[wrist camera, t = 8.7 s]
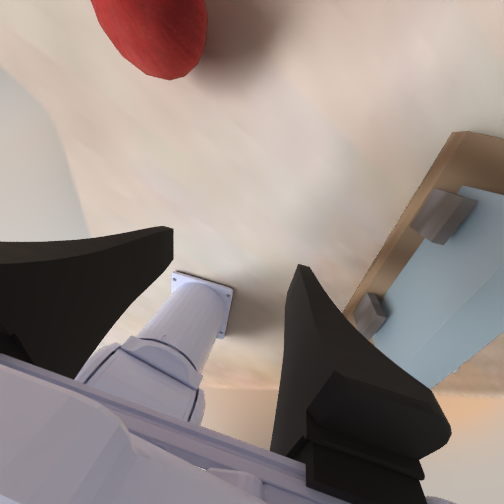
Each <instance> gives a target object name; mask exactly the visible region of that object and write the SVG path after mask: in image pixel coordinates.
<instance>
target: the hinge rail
mask: <svg viewBox="0 0 504 504" xmlns="http://www.w3.org/2000/svg"><path fill="white" fill-rule="evenodd" d="M462 186H468V187H472V188H476V189H481V190H485V191H489V192H493V193H498V194H502V195H504V139H502V138H497V137H492V136H487V135H483V134H478V133H473V132H468V131H467V132H454V133H452V134H451V136H450V137H449V139H448V140H447V142H446V144H445V145H444V147H443V149H442V150H441V152H440V154H439V155H438V157H437V159H436V160H435V162H434V163H433V165H432V167H431V168H430V170H429V172H428V173H427V175H426V177H425V178H424V180H423V182H422V183H421V185H420V187H419V188H418V190H417V191H416V193H415V195H414V196H413V198H412V200H411V201H410V203H409V205H408V206H407V208H406V210H405V211H404V213H403V215H402V216H401V218H400V219H399V221H398V223H397V224H396V226H395V228H394V229H393V231H392V233H391V234H390V236H389V238H388V239H387V241H386V242H385V244H384V246H383V247H382V249H381V251H380V252H379V254H378V256H377V257H376V259H375V261H374V262H373V264H372V266H371V267H370V269H369V270H368V272H367V274H366V275H365V277H364V279H363V280H362V282H361V284H360V285H359V287H358V289H357V290H356V292H355V293H354V295H353V297H352V298H351V300H350V302H349V303H348V305H347V307H346V308H345V310H344V312H343V313H342V314H343V315H344V316H345V317H346V318H347V320H348V321H349V322H350V323H351V324H352V325H353V326H354V327H355V328H356V329H357V330H358V331H359V332H360V333H361V334H362V335H363V336H364V337H365V338H366V339H367V340H368V341H369V342H371V343H372V344H373V345H374V346H375V344H374V341H373V339H372V337H373V335H374V334H375V333H376V331H377V330H378V329H379V328H380V326H381V325H382V324H383V322H384V321H385V320H386V319H387V317H386V315H385V313H384V311H383V309H382V307H381V305H380V303H379V302H380V301H381V299H382V298H383V296H384V295H385V294H386V292H387V291H388V289H389V288H390V287H391V285H392V284H393V282H394V281H395V280H396V278H397V277H398V275H399V274H400V273H401V271H402V270H403V268H404V267H405V266H406V264H407V263H408V261H409V260H410V259H411V257H412V256H413V254H414V253H415V252H416V250H417V249H418V247H419V246H420V244H421V243H422V242H423V240H424V239H425V238H426V239H427V240H429V241H430V242H432V243H436V244H440V245H444V244H445V243H446V242H447V241H448V239H449V238H450V237H451V235H452V234H453V233H454V232H455V230H456V229H457V228H458V227H459V225H460V224H461V223H462V221H463V220H464V219H465V218H466V216H467V215H468V214H469V212H470V211H471V210H472V209H473V207H474V206H475V205H476V203H477V202H478V201H477V200H473V199H470V198H467V197H464V196H461V195H458V194H457V193H458V191H459V190H460V188H461V187H462Z"/></svg>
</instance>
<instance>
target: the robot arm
mask: <svg viewBox="0 0 504 504" xmlns="http://www.w3.org/2000/svg"><path fill="white" fill-rule="evenodd" d="M172 260H173V229H172V228H169V227H165V226H158V227H152V228H147V229H142V230H137V231H132V232H127V233H121V234H115V235H110V236H104V237H97V238H89V239H80V240H67V241H50V242H49V241H48V242H0V504H456V503H453V502H450V501H447V500H444V499H441V498H437V497H429V496H427V497H425V496H424V493H423V490H422V487H421V484H420V482H419V480H424V478H425V475H424V472H423V470H422V467H421V464H420V462H419V460H420V459H421V458H423V457H425V456H427V455H429V454H430V453H433V452H435V451H436V450H438V449H440V448H441V447H443V446H444V445H445V444H447V442H448V440H449V438H450V436H451V434H452V432H451V427H450V424H449V423H448V421H447V419H446V417H445V415H444V413H443V412H442V409H441V408H440V406H439V404H438V402H437V400H436V398H435V396H434V395H433V393H432V391H431V390H430V389H429V388H428V387H426V386H425V385H424V384H422V383H421V382H419V381H418V380H417V379H415V378H414V377H413V376H411V375H410V374H409V373H407V372H406V371H405V370H403V369H402V368H401V367H399V366H398V365H397V364H395V363H394V362H393V361H392V360H391V359H389V358H388V357H387V356H386V355H384V354H383V353H382V352H381V351H380V350H379V349H377V348H376V347H375V346H374V345H373V344H372V343H371V342H369V341H368V340H367V339H366V338H365V337H364V336H363V335H362V334H361V333H360V332H359V331H358V330H357V329H356V328H355V327H354V326H353V325H352V324H351V323H350V322H349V321H348V320H347V318H346V317H345V316H344V315H343V314H342V313H341V312H340V311H339V309H338V308H337V307H336V306H335V304H334V303H333V302H332V300H331V299H330V298H329V296H328V295H327V294H326V292H325V291H324V289H323V288H322V286H321V285H320V283H319V281H318V280H317V278H316V277H315V275H314V273H313V272H312V270H311V269H310V267H307V266H304V265H300V264H298V266H297V269H296V271H295V274H294V277H293V279H292V282H291V284H290V287H289V290H288V292H287V298H286V305H285V329H284V356H283V364H282V372H281V380H280V387H279V394H278V401H277V409H276V415H275V422H274V428H273V434H272V441H271V447H270V451H268V450H265V449H263V448H260V447H257V446H254V445H252V444H249V443H246V442H243V441H241V440H237V439H235V438H232V437H230V436H227V435H224V434H221V433H219V432H216V431H213V430H210V429H208V428H205V427H202V426H200V425H201V422H202V418H203V415H204V410H205V398H204V391H203V390H202V389H200V388H198V387H199V385H200V382H201V380H202V377H203V375H201V372H202V370H203V368H204V365H205V363H206V361H207V358H208V356H209V354H210V351H211V349H212V347H213V344H214V342H215V340H216V338H218V339H223V338H224V336H225V331H226V326H227V321H228V316H229V311H230V306H231V301H232V296H233V289H232V288H229V287H226V286H223V285H219V284H216V283H213V282H209V281H206V280H203V279H199V278H196V277H193V276H189V275H186V274H183V273H179V272H176V271H174V272H173V273H172V274H171V296H170V297H169V298H168V299H167V301H166V302H165V303H164V304H163V305H162V306H161V308H160V309H159V310H158V311H157V312H156V313H155V315H154V316H153V317H152V318H151V319H150V320H149V322H148V323H147V324H146V325H145V326H144V328H143V329H142V330H141V331H140V332H139V333H138V335H137V336H136V337H134V336H130V337H129V339H128V340H127V341H126V342H125V343H124V344H123V345H121V344H119V343H112V344H111V345H107V346H104V347H102V348H101V349H99V350H98V351H96V352H95V353H94V354H93V355H92V356H91V354H92V353H93V352H94V350H95V349H96V348H97V346H98V345H99V343H100V342H101V341H102V339H103V338H104V337H105V335H106V334H107V333H108V331H109V330H110V329H111V328H112V326H113V325H114V324H115V323H116V321H117V320H118V319H119V318H120V316H121V315H122V314H123V313H124V312H125V310H126V309H127V308H128V307H129V306H130V305H131V304H132V303H133V302H134V300H135V299H136V298H137V297H138V296H140V295H141V294H142V293H143V292H144V291H145V290H146V289H147V288H148V287H149V286H150V285H151V284H152V283H153V282H154V281H155V280H156V279H157V278H158V277H159V276H160V275H161V274H162V273H163V272H164V271H165V270H166V268H167V267H168V266H169V264H170V263H171V262H172ZM175 278H176V279H175ZM228 294H229V295H228ZM90 356H91V357H90ZM89 357H90V358H89ZM194 465H195V466H194ZM196 466H197V467H196ZM198 467H200V468H203V469H205V470H206V471H204V470H202V469H200V468H198Z"/></svg>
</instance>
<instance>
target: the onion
mask: <svg viewBox="0 0 504 504" xmlns="http://www.w3.org/2000/svg"><path fill="white" fill-rule="evenodd" d="M91 2H92V5H93V8H94V10H95V13H96V16H97V19H98V21H99V23H100V25H101V27H102V29H103V30H104V32H105V33H106V34H107V36H108V37H109V39H110V40H111V41H112V43H113V44H114V46H115V47H116V48H117V50H118V51H119V52H120V53H121V55H122V56H123V57H124V58H125V59H127V60H128V61H129V62H131V63H132V64H133V65H135V66H136V67H137V68H138V69H140V70H141V71H142V72H144V73H145V74H146V75H150V76H153V77H158V78H162V79H166V80H173V79H177V78H180V77H184V76H186V75H187V74H188V73H189V72H190V71H191V70H192V69H193V68H194V67H195V66H196V65H197V64H198V62H199V60H200V57H201V55H202V52H203V50H204V48H205V45H206V35H207V23H208V18H207V12H206V5H205V0H91Z"/></svg>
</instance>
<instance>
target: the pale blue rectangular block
mask: <svg viewBox="0 0 504 504" xmlns="http://www.w3.org/2000/svg"><path fill="white" fill-rule="evenodd" d="M457 194H458V195H461V196H464V197H467V198H470V199H473V200H477V201H478V202H477V203H476V205H475V206H474V207H473V209H472V210H471V211H470V212H469V214H468V215H467V216H466V218H465V219H464V220H463V221H462V223H461V224H460V225H459V227H458V228H457V229H456V230H455V232H454V233H453V234H452V235H451V237H450V238H449V239H448V241H447V242H446V243H445V244H444V245H440V244H436V243H432V242H430V241H429V240H427V239H426V238H425V239H424V240H423V242H422V243H421V244H420V246H419V247H418V249H417V250H416V252H415V253H414V254H413V256H412V257H411V259H410V260H409V261H408V263H407V264H406V266H405V267H404V268H403V270H402V271H401V273H400V274H399V275H398V277H397V278H396V280H395V281H394V282H393V284H392V285H391V287H390V288H389V289H388V291H387V292H386V294H385V295H384V296H383V298H382V299H381V301H380V302H379V303H380V305H381V307H382V309H383V311H384V313H385V315H386V317H387V319H386V320H385V321H384V322H383V324H382V325H381V326H380V328H379V329H378V330H377V331H376V333H375V334H374V335H373V337H372V339H373V341H374V344H375V346H376V348H377V349H379V350H380V351H381V352H382V353H383V354H384V355H386V356H387V357H388V358H389V359H391V360H392V361H393V362H394V363H395V364H397V365H398V366H399V367H401V368H402V369H403V370H405V371H406V372H407V373H409V374H410V375H411V376H413V377H414V378H415V379H417V380H418V381H419V382H421V383H422V384H424V385H425V386H426V387H428V388H429V389H432V388H433V387H434V386H435V385H437V384H438V383H439V382H440V381H442V380H443V379H444V378H446V377H447V376H448V375H449V374H451V373H453V374H455V373H457V372H458V371H459V370H460V366H461V365H462V364H463V363H465V362H466V361H467V360H468V359H470V358H471V357H472V356H474V355H475V354H476V353H477V352H479V351H480V350H481V349H482V348H484V347H485V346H486V345H488V344H489V343H490V342H491V341H493V340H494V339H495V338H496V337H498V336H499V335H500V334H502V333H503V332H504V195H502V194H498V193H493V192H489V191H485V190H481V189H476V188H472V187H468V186H462V187H461V188H460V190H459V191H458V193H457Z"/></svg>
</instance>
